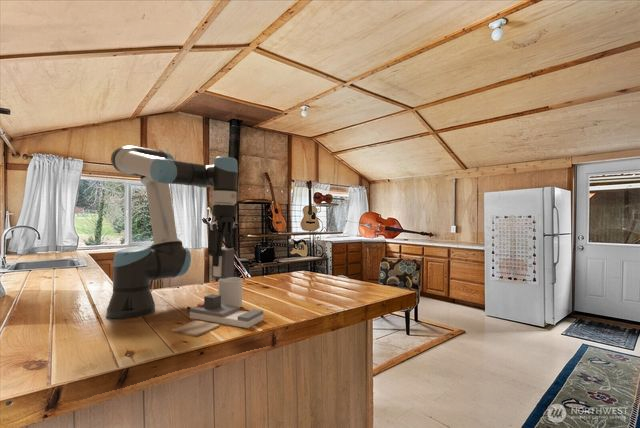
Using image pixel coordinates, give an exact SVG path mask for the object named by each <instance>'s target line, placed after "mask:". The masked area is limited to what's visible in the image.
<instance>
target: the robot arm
mask: <svg viewBox="0 0 640 428" xmlns="http://www.w3.org/2000/svg"><path fill="white" fill-rule="evenodd" d="M110 162H111V165H112V167H113V168H114V169H115V170H116V171H118V172H119V173H121V174H125V175H129V176H135V177H140V183H141V184H142V185H144V186H145V188H146V195H147V202H148V209H149V217H150V224H151V230H152V238H153V243H151V244H150V246H147V245H142V246H133V247H131V246H130V247H127V248H122V249H119V250H117V251H116V252H115V253H114V255H113V262H112V270H113V271H112V295H111V296H110V299H109V302H108V305H107V308H106V317H108V318H110V319H116V320H118V319H120V320H121V319H123V320H124V319H133V318H139V317H144V316H146V315H149V314H152V313H154V312H155V311H156V303H155V301H154V297H153V295H152V292H151V281H157V280H165V279H170V278H171V279H174V278H177V277H181V276H184V275H185V274H186V273H187V272H188V271H189V268H190V266H191V262H192V261H191V260H192V255H191V252H190V249H189V248H188V247H186V246H184V245H183V241H182V240H180V239H179V238H178V234H177V228H176V222H175V215H174V210H173V208H174V207H173V202H172V196H171V195H172V194H171V189H170V184H171V185H181V186H182V185H184V186H192V187H193V186H194V187H199V188H211V187H213V188H212V189H213V190H212V192H213V193H212V204H213V205H212V216H214V221H213V222H212V223H208V224H207V229H208V244H207V247H208V248H207V254H208V255H209V256H213V276H218V277H221V273H222V256H220V254H221V248H222V247H223V242H224V245H225V248H234V249H235V251H234V255H236V253H237V251H238V240H239V238H238V236H239V235H238V234H239V233H238V232H239V230H238V229H239V226H240V223H239V222H235V219H234V217H236V216H237V206H236V204H237V199H238V198H237V197H238V196H237V195H238V193H237V192H238V173H239V170H238V160H237V159H236V157H235V158H234V157H231V156H216V157H215V158H214V160H213V164H201V163H194V162H186V161H182V160H181V161H180V160H175V158H174V156H173V155H172V154H171V153H169V152H168V151H163V150H161V149H152V148H147V147H141V146H140V147H139V146H135V145H123V146H120V147H117V148H115V150H114V151H113V152H112V153H111V156H110Z"/></svg>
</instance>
